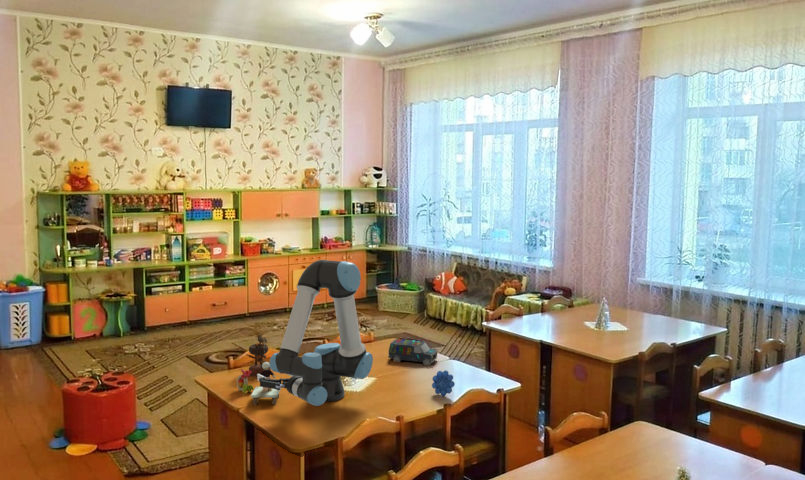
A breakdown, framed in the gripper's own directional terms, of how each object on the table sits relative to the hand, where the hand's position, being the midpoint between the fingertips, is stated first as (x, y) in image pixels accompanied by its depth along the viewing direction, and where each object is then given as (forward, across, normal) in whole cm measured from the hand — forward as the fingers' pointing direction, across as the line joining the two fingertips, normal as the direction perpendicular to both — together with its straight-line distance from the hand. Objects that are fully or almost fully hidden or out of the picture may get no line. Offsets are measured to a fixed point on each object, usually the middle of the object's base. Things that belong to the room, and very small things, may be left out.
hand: (272, 373), depth 280 cm
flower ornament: (+22, -2, -14) cm, 26 cm away
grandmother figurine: (+6, 0, -9) cm, 11 cm away
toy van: (+10, +88, -14) cm, 90 cm away
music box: (+41, +16, -14) cm, 46 cm away
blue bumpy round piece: (-38, +65, -14) cm, 77 cm away
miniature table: (+6, 0, -14) cm, 15 cm away
